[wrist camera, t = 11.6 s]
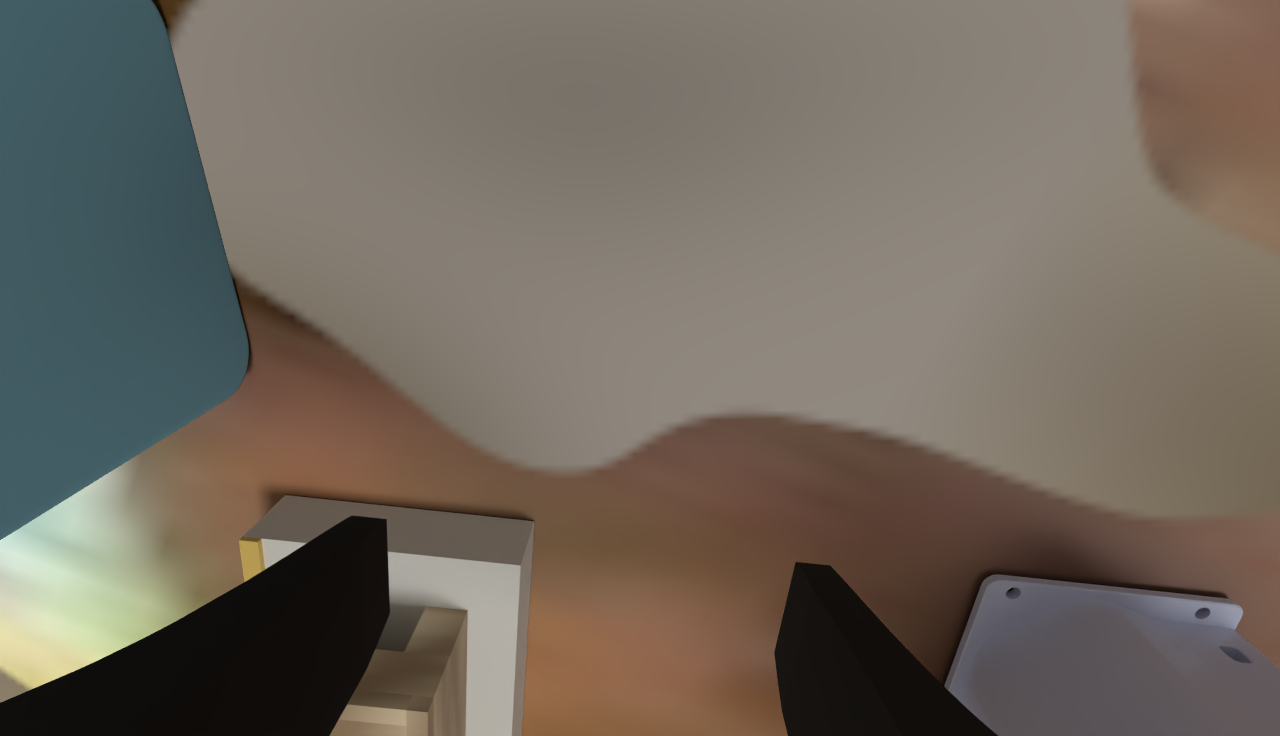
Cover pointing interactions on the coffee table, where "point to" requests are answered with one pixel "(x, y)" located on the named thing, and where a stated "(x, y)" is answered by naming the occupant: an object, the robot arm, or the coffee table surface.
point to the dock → (434, 587)
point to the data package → (101, 252)
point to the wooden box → (414, 683)
